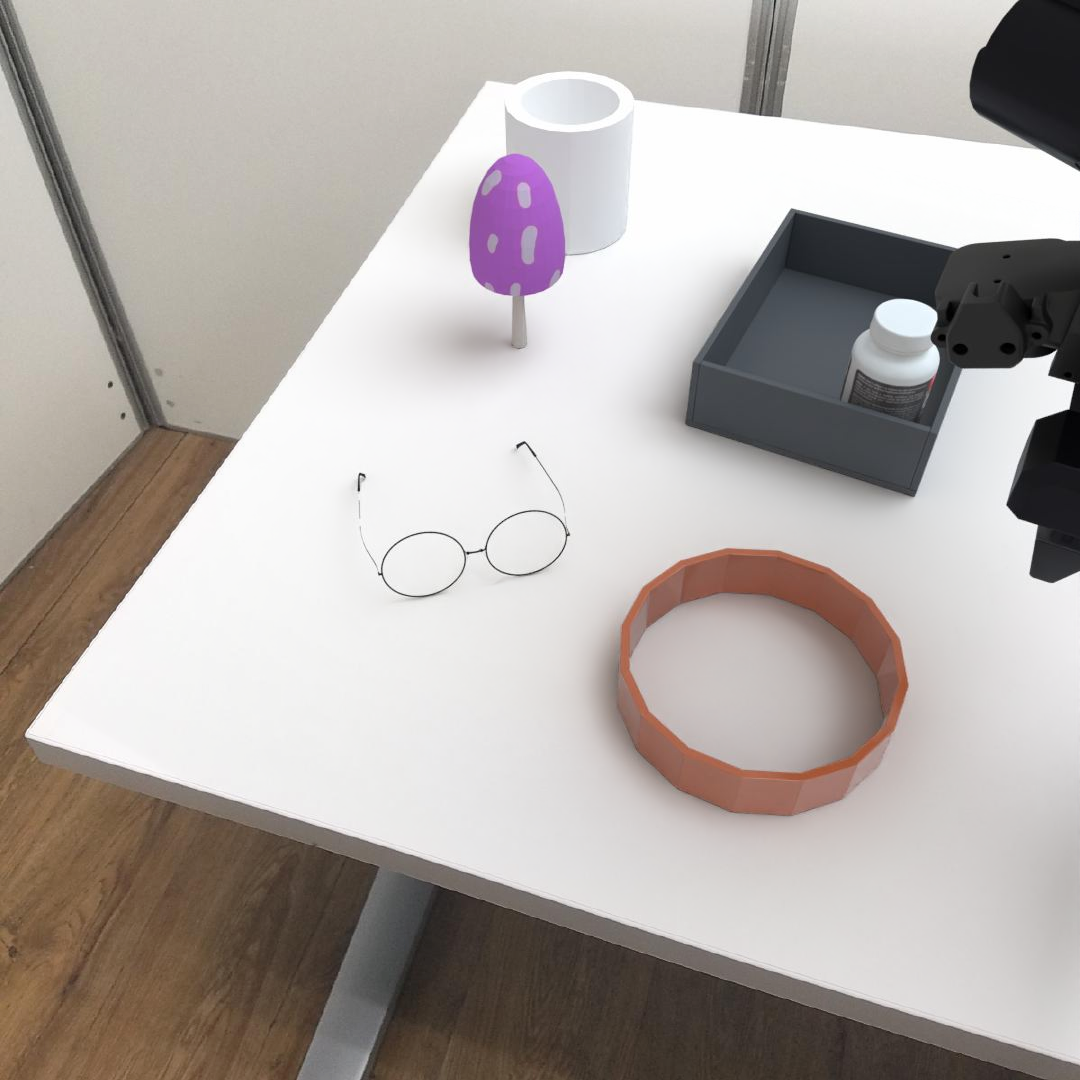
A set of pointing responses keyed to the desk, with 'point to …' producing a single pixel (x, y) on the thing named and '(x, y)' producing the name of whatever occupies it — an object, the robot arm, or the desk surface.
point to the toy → (516, 235)
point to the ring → (792, 584)
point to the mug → (577, 149)
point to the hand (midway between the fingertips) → (1057, 512)
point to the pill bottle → (894, 361)
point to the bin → (820, 351)
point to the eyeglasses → (461, 545)
